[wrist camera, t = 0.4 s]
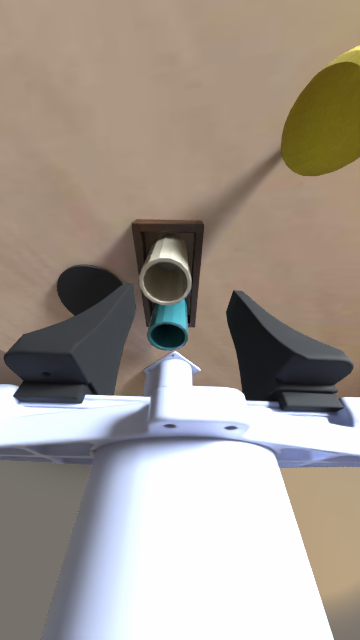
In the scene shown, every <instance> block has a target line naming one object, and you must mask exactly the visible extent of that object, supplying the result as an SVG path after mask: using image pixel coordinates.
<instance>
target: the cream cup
mask: <svg viewBox="0 0 360 640" xmlns="http://www.w3.org/2000/svg"><path fill="white" fill-rule="evenodd" d="M191 281H192V280H191V271H190V262H189V253H188V249H187V246H186V244H185V242H184V241H183V240H182V239H181V238H180V237H178V236H177V235H174V234H164V235H162V236H160V237H158V238H157V239H156V240H155V242H154V243H153V245H152V247H151V249H150V252H149V254H148V256H147V258H146V261H145V263H144V265H143V267H142V270H141V273H140V276H139V283H140V288H141V290H142V292H143V293H144V295H145V296H146V297H147V298H148V299H149V300H151V301H152V302H154V303H157V304H160V305H173V304H176V303H179V302H181V301H182V300H183V299H184V298H186V297H187V295H188V293H189V291H190V290H191Z"/></svg>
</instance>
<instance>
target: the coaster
mask: <svg viewBox="0 0 360 640" xmlns="http://www.w3.org/2000/svg"><path fill="white" fill-rule="evenodd" d="M122 284H123V283H122V282H121V281H120V280H119V279H118V278H117V277H116V276H114V275H113V274H112V273H110V272H108V271H106V270H104V269H102V268H99V267H97V266H92V265H76V266H73V267H70V268H68V269H67V270H66V271H64V272H63V273H62V274H61V275H60V277H59V279H58V282H57V291H58V295H59V297H60V300H61V301H62V303H63V304H64V306H65V307H66V308H67V309H68V310H69V311H70V312H71V313H72V314H73V315H75V316H76V315H78V314H80V313H82V312H84V311H86V310H88V309H89V308H91V307H93V306H94V305H96V304H97V303H99V302H100V301H102V300H103V299H104V298H106V297H107V296H109V295H110V294H111V293H112V292H114V291H115V290H116V289H117V288H119V287H120V286H121V285H122Z"/></svg>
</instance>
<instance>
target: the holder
mask: <svg viewBox="0 0 360 640" xmlns="http://www.w3.org/2000/svg"><path fill="white" fill-rule="evenodd" d="M132 231H133V237H134V244H135V251H136V258H137V265H138V272H139V276H140V273H141V270H142V267H143V265H144V263H145V261H146V258H147V252H146V243H145V234H144V232H183V233H194V245H193V262H192V276H191V280H192V281H191V295H190V311H189V315H187V321H188V327H195V320H196V309H197V298H198V287H199V276H200V266H201V255H202V244H203V233H204V223H203V222H202V220H196V221H195V220H142V219H136V220H135V221H134V222H132ZM141 292H142V290H141ZM142 299H143V306H144V313H145V319H146V326H147V327H149V323H150V318H151V314H152V309H153V308H152V301H151V300H149V299H148V298H147V297H146V296H145V295H144V293H143V292H142Z"/></svg>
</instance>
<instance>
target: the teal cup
mask: <svg viewBox="0 0 360 640" xmlns="http://www.w3.org/2000/svg"><path fill="white" fill-rule="evenodd" d="M147 337H148V340H149V342H150V343H151V345H153V346H154V347H156V348H158V349H161V350H167V351H172V350H176V349H179V348H181V347H182V346H184V345H185V344H186V342H187V341H188V321H187V301H186V298H184V299H183V300H182V301H181V302H179V303H176V304H173V305H160V304H157V303H154V305H153V309H152V314H151V318H150V323H149V327H148V332H147Z"/></svg>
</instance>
